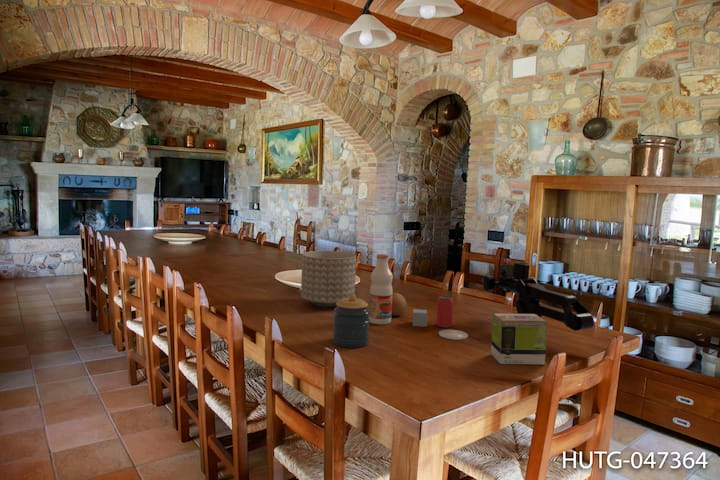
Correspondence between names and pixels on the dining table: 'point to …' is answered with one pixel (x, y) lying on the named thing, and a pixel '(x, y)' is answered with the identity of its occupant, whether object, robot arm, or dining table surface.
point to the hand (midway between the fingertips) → (489, 279)
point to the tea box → (518, 338)
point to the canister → (351, 323)
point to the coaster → (453, 334)
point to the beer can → (444, 311)
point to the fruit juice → (381, 292)
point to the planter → (327, 277)
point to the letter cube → (419, 317)
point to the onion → (398, 304)
